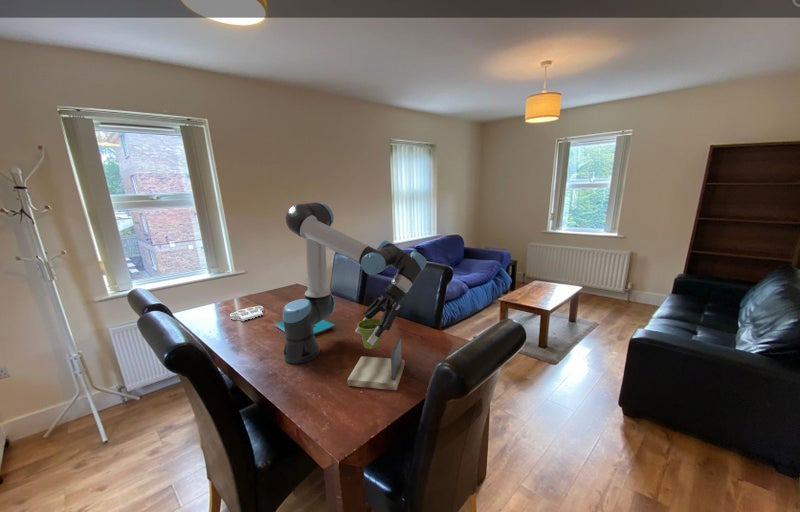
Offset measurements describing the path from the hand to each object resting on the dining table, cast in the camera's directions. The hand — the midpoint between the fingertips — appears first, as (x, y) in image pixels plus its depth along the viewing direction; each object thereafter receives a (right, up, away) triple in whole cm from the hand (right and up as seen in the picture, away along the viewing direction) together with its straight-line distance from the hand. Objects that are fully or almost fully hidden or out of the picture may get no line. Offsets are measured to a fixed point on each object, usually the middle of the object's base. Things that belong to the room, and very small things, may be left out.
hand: (363, 338), depth 113 cm
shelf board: (+5, -15, +5) cm, 17 cm away
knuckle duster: (-75, -6, +67) cm, 101 cm away
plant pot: (+3, -4, +2) cm, 5 cm away
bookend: (+12, -13, +3) cm, 18 cm away
